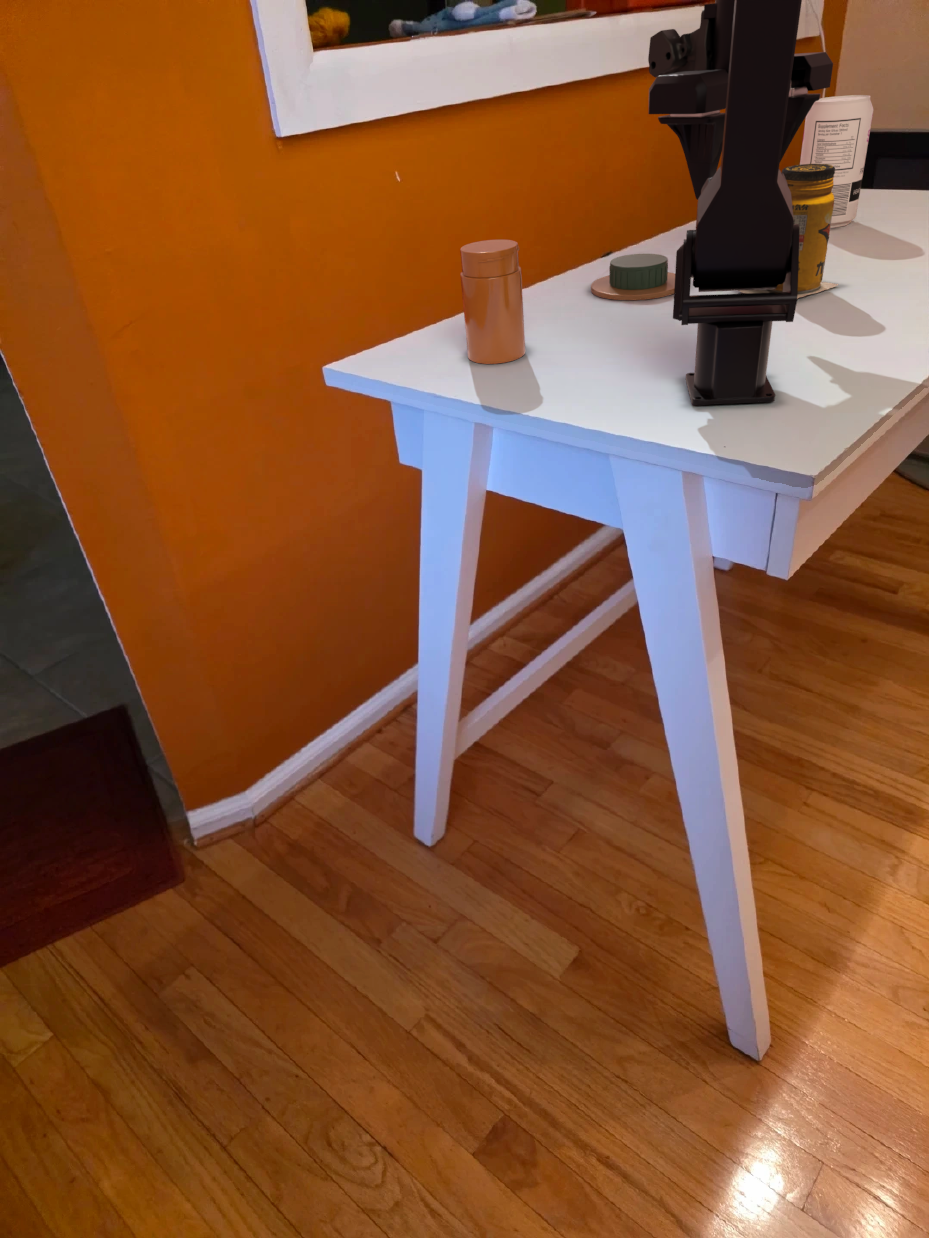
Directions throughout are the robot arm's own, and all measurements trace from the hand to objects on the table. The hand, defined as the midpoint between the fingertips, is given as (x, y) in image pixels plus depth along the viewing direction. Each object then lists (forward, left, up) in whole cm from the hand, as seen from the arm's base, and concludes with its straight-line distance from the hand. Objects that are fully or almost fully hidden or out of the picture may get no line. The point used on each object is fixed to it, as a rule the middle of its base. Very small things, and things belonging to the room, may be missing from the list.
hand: (733, 191), depth 78 cm
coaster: (+15, +8, -12) cm, 21 cm away
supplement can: (+43, -19, -12) cm, 49 cm away
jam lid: (+15, +8, -9) cm, 19 cm away
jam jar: (-7, +23, -12) cm, 27 cm away
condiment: (+10, -8, -12) cm, 18 cm away
